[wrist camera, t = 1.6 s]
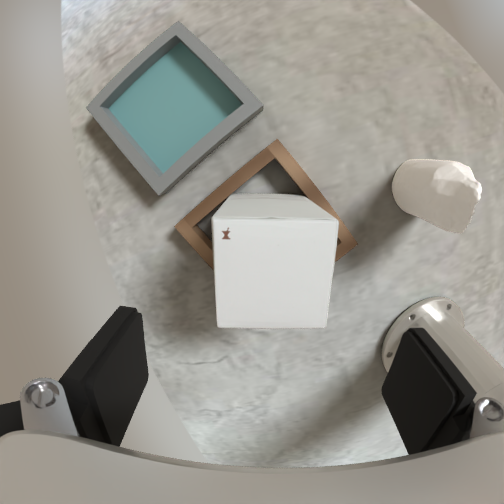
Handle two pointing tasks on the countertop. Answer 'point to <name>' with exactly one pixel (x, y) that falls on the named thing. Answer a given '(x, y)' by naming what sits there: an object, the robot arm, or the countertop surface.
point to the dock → (172, 107)
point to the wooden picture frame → (274, 150)
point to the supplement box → (273, 261)
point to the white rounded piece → (437, 192)
